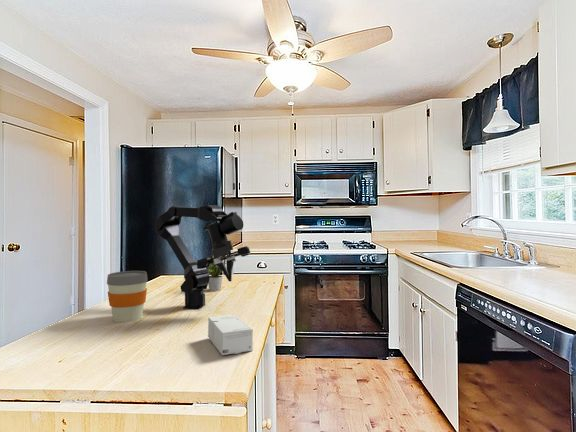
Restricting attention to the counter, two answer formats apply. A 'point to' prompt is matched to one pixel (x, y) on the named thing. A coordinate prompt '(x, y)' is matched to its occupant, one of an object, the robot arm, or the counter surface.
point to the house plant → (215, 277)
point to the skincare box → (230, 334)
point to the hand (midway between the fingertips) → (230, 281)
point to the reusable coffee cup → (127, 294)
